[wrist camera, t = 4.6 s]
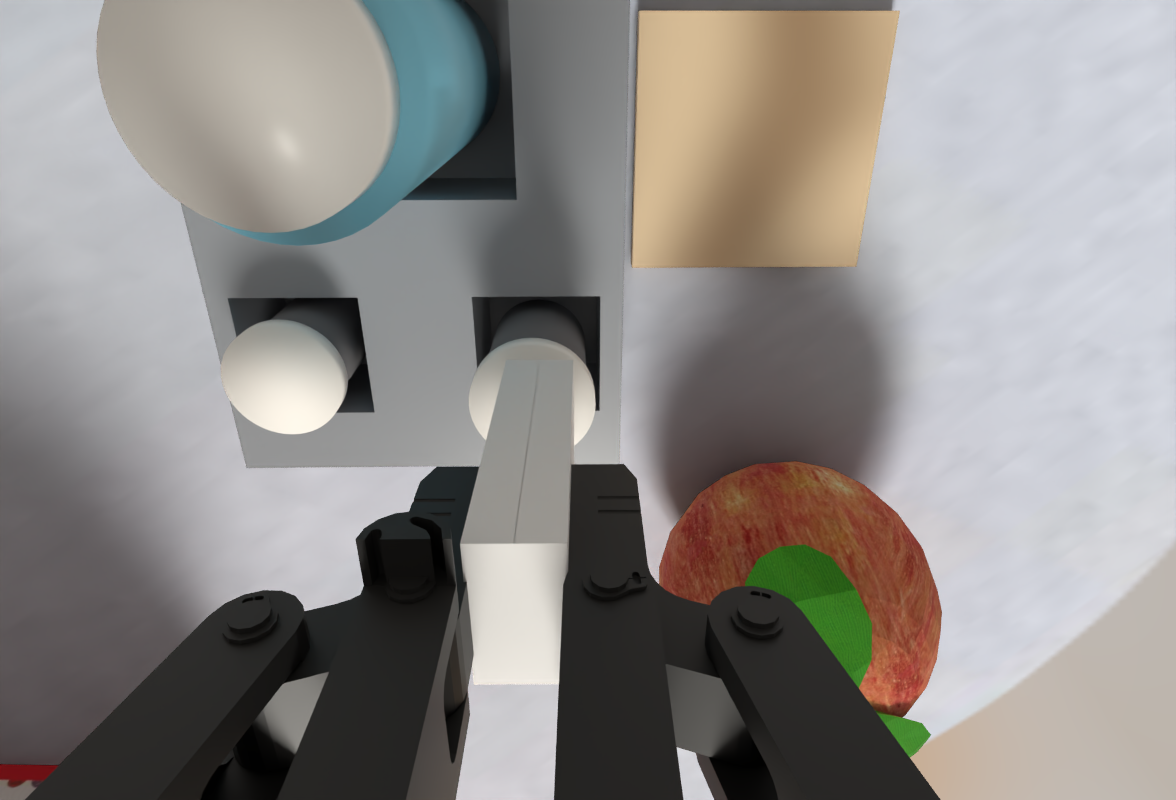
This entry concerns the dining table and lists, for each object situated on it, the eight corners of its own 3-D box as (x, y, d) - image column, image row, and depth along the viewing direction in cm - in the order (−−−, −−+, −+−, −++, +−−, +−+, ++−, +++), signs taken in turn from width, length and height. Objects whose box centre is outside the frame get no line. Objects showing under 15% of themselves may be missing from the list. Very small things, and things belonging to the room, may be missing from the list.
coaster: (630, 263, 22) (632, 267, 22) (637, 11, 19) (639, 10, 19) (850, 262, 22) (856, 266, 22) (892, 11, 19) (899, 10, 19)
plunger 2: (490, 390, 21) (473, 459, 17) (484, 292, 20) (463, 346, 16) (591, 389, 21) (595, 458, 17) (592, 292, 20) (595, 345, 16)
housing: (294, 406, 24) (246, 467, 21) (186, -125, 18) (88, -170, 14) (612, 404, 25) (619, 464, 21) (622, -123, 18) (633, -167, 14)
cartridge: (351, 156, 20) (120, 261, 10) (326, -21, 18) (9, -116, 8) (504, 156, 20) (432, 260, 10) (495, -20, 18) (395, -114, 8)
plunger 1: (290, 372, 22) (235, 434, 18) (271, 279, 21) (208, 326, 17) (386, 372, 22) (350, 433, 19) (374, 279, 21) (332, 325, 17)
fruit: (688, 636, 29) (738, 891, 20) (609, 451, 25) (627, 667, 16) (894, 575, 28) (1044, 819, 19) (844, 371, 24) (1003, 558, 15)
